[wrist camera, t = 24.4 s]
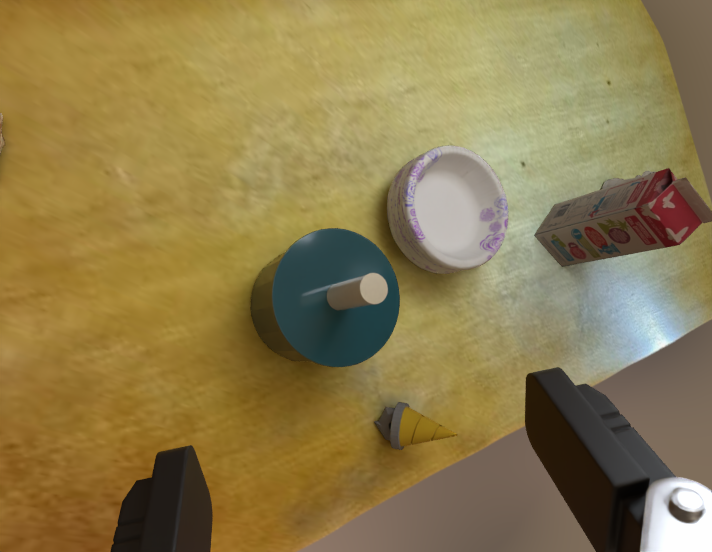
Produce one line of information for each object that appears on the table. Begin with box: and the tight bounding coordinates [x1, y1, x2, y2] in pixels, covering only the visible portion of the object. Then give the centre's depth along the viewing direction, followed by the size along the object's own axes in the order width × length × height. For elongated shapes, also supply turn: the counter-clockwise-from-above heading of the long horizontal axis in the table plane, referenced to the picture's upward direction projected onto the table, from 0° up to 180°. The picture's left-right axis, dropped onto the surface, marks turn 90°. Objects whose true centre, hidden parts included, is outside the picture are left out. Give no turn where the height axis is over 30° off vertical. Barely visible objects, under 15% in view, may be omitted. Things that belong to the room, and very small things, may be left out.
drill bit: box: [374, 402, 457, 450], centre depth 67 cm, size 5×5×10 cm
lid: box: [271, 228, 400, 367], centre depth 55 cm, size 14×14×9 cm
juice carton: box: [535, 168, 712, 267], centre depth 76 cm, size 7×7×22 cm
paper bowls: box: [387, 145, 508, 274], centre depth 72 cm, size 15×15×8 cm
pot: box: [251, 253, 312, 362], centre depth 63 cm, size 13×13×10 cm
